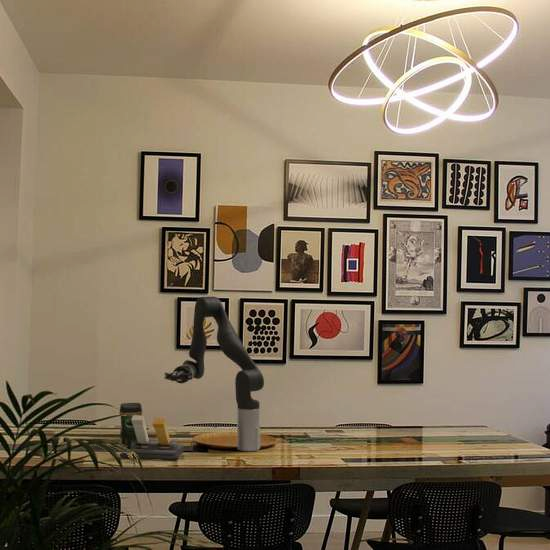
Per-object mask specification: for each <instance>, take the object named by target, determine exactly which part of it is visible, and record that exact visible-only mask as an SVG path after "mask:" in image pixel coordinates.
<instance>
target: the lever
mask: <svg viewBox="0 0 550 550" xmlns="http://www.w3.org/2000/svg"><path fill="white" fill-rule="evenodd" d="M131 421H132V424H133V426H134V430H135V434H136V438H137V442H138V446H148V443H149V442H151V440H149V435H148V431H147V426H146V423H145V416H144V415H141V416H140V415H133V417H132V419H131Z"/></svg>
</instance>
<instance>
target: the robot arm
mask: <svg viewBox="0 0 550 550" xmlns="http://www.w3.org/2000/svg"><path fill="white" fill-rule="evenodd" d="M193 310H194V312H193V327H192V337H191V341H190V342H191V343H190V346H189V350H188V351H189V352H188V356H189V357H190V358H191V359H192V360H188V359H187V360H185V361H183V362H182V365H179V366H177V367H176V368H174V369H173V371H172V372H171V373H170V372H164V380H168V381H171V382H176V383H178V384H185V383H187V382H188V381H191V380H193V379H196V380H200V379H201V378H202V377H204V374H205V352H206V349H207V343H208V340H207V336H206V333H205V330H204V323H205V322H204V321H205V319H206V318H213V319H214V320H215V323H216V325H217V331H216V342H217V344H218V346H219V348H220V349H221V351H222V353H223V354H224V356H225V357H226V358H228V359H229V360H231V361H232V362H233V363H235V364H236V365H237V366H238V367H239V368H240V369H241V370H239V371H238V372H237V373H236V376H235V379H234V380H235V381H234V384H235V385H234V386H235V400H236V404H237V419H236V421H237V423H236V424H237V426H236V428H237V429H236V436H237V438H236V439H237V442H236V447H238V448H236V449H237V450H238V451H243V452H253V451H254V452H256V451H257V452H258V451H259V450H260V449H261V425H260V402H259V400H257V399H254V398H252V392H257V391H260V390H262V389H263V388H264V387H265V386H264V385H265V380H264V376H263V374H262V371H261V370H260V369H259V367H258V366H257V364H256V363H255V362H254V360H253V359H252V358H251V356H250V354H249V353H248V351H247V349H246V348H245V347H244V344H243V343H242V340H241V338H240V337H239V334H238V333H237V332H236V330H235V328H234V326H233V325H232V322H231V321H230V319H229V317H228V315H227V312H226V310H225V308H224V305H223V303H222V301H221V300H220V298H219V297H216V296H201V297H198V298H197V300H196V302H195V305H194V309H193ZM193 360H194V361H193Z"/></svg>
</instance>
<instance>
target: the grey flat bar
mask: <svg viewBox="0 0 550 550" xmlns="http://www.w3.org/2000/svg"><path fill="white" fill-rule="evenodd" d="M129 450H131V451H134V452H135V453H136V454H137V455H138V457H139V458H141V459H140V460H152V459H162V460H161V461H179V459H180V456H178V455H175V454H176V451H169V450H144V449H129ZM132 456H133V458H135V459H134V460H137V459H136V457H135V456H134V454H133V455H132ZM120 457H121V459H128V460H129V459H130V458H129V457H128V455H127V454H126V453H124V452H121V453H119V458H120ZM130 460H131V459H130Z"/></svg>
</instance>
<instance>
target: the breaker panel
mask: <svg viewBox="0 0 550 550" xmlns="http://www.w3.org/2000/svg"><path fill="white" fill-rule="evenodd" d="M184 447H185V446H184V444H179V442H178V441H171V443H170V444H169V447H159V441H158V440H150V442H149V443H148V446H138V442H137V440H135V441H133V442H131V447H130V448H129V449H144V450H169V451H176V454H175V455H178V456H179V457H180V456H181V455H182V454H183V453H184V449H185V448H184Z"/></svg>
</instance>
